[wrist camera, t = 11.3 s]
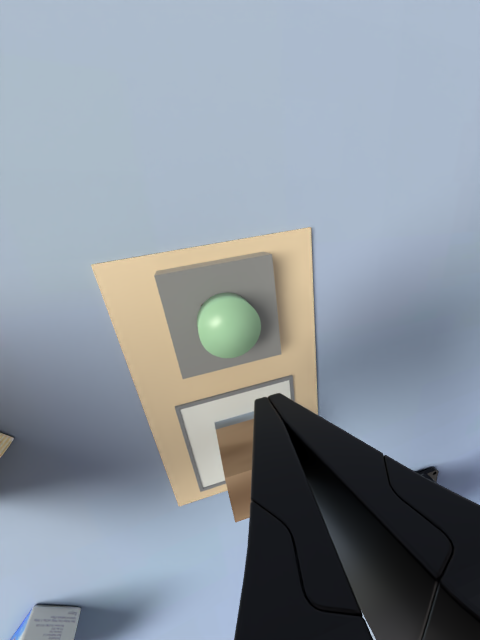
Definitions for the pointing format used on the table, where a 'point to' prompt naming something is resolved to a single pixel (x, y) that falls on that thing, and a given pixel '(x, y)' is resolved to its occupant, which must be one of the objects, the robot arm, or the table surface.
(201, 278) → the button housing
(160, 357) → the tan rectangular board
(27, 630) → the medicine box
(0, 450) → the coffeecake box
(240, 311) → the button
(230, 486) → the block
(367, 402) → the table surface
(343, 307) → the table surface
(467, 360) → the table surface
